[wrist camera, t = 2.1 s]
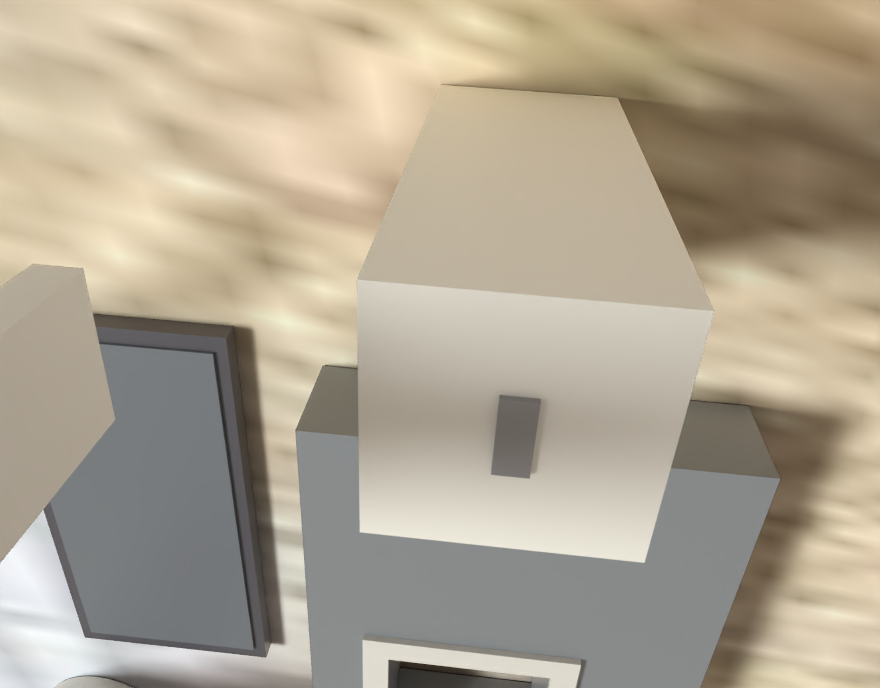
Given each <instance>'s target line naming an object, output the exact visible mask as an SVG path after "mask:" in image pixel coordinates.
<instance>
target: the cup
mask: <svg viewBox="0 0 880 688" xmlns="http://www.w3.org/2000/svg"><path fill="white" fill-rule="evenodd" d="M55 688H133V687H130V686H128V685H126V684H123V683H121V682H118V681H114V680H111V679H106V678H101V677H91V676H82V677H74V678H70V679H67V680H64V681H62V682H61V683H59V684H58V685H57V686H56V687H55Z"/></svg>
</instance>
